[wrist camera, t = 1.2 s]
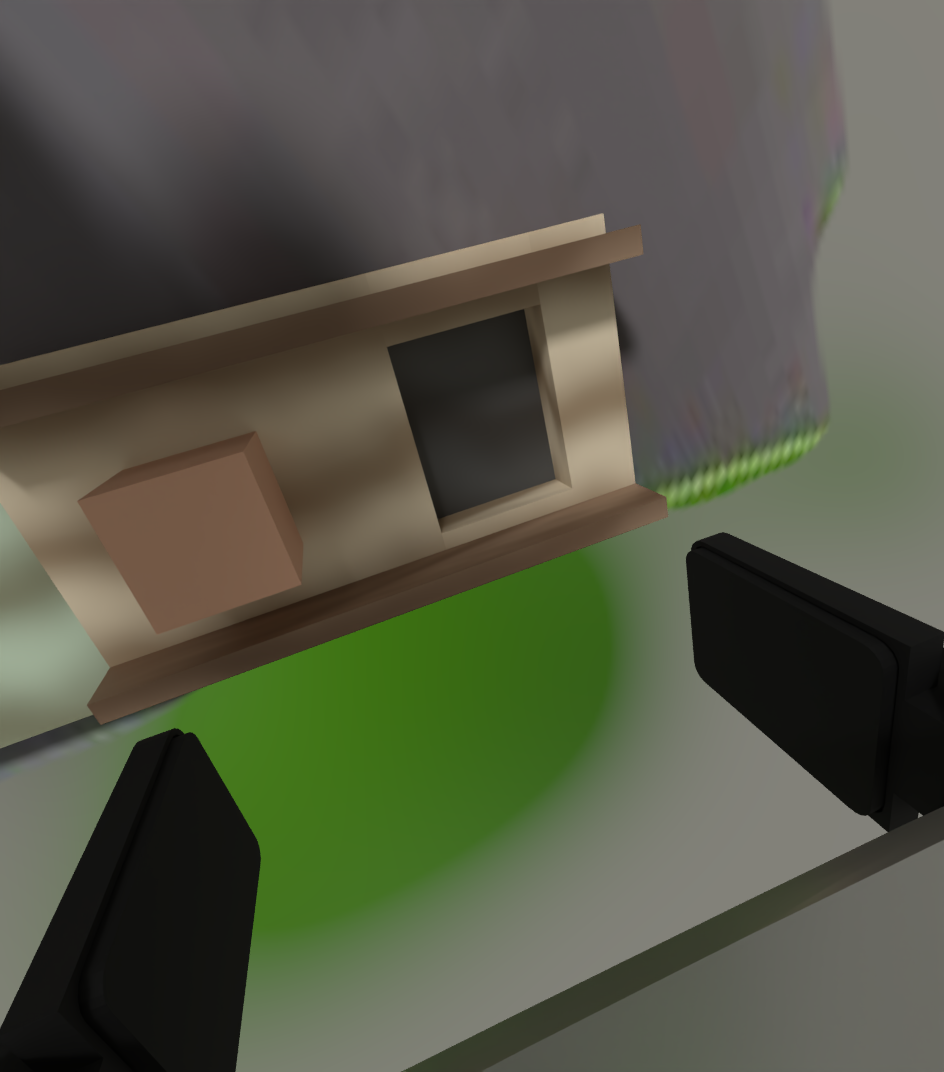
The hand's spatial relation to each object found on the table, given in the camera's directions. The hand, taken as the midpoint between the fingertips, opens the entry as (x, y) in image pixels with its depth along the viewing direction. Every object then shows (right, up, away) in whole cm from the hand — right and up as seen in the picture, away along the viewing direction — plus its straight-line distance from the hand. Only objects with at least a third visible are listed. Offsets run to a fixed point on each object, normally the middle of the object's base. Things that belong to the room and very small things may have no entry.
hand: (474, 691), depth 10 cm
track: (-11, +6, +18) cm, 22 cm away
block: (-12, +4, +16) cm, 20 cm away
